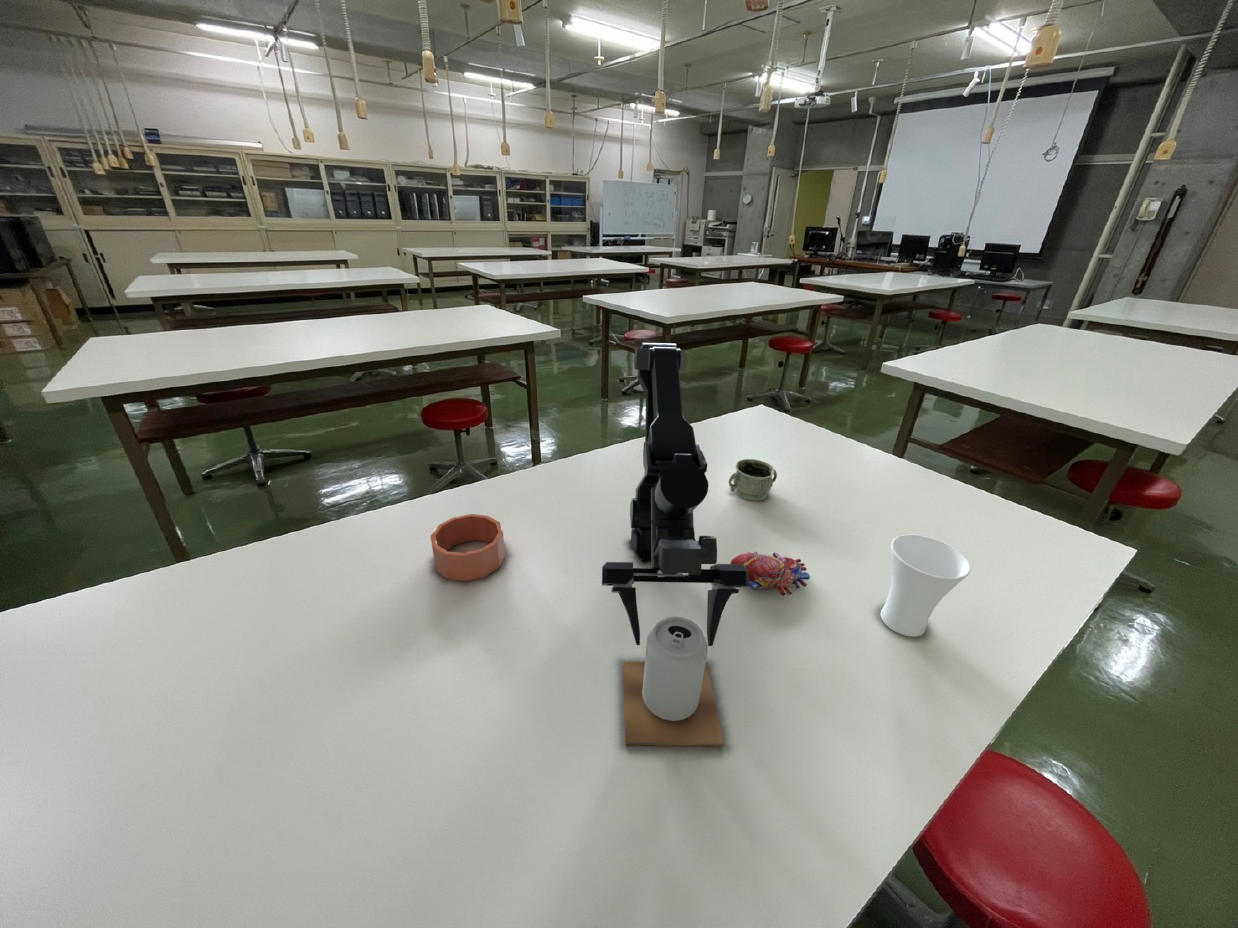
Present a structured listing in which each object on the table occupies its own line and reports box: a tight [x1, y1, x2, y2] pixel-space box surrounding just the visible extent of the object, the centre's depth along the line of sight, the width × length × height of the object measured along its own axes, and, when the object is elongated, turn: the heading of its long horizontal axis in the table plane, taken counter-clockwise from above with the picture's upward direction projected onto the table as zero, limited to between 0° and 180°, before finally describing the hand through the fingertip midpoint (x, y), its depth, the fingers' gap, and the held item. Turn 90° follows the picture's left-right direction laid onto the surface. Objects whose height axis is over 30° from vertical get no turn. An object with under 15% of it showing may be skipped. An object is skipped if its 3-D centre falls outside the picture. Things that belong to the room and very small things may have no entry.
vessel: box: [728, 458, 778, 501], centre depth 113 cm, size 12×9×6 cm
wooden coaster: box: [622, 661, 724, 747], centre depth 66 cm, size 12×12×1 cm
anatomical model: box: [730, 551, 811, 596], centre depth 87 cm, size 11×4×15 cm
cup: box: [880, 533, 972, 638], centre depth 77 cm, size 10×10×14 cm
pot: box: [430, 513, 506, 582], centre depth 89 cm, size 12×12×6 cm
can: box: [642, 615, 709, 721], centre depth 63 cm, size 8×8×12 cm
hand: (674, 645), depth 63 cm, fingers open, 9 cm apart
